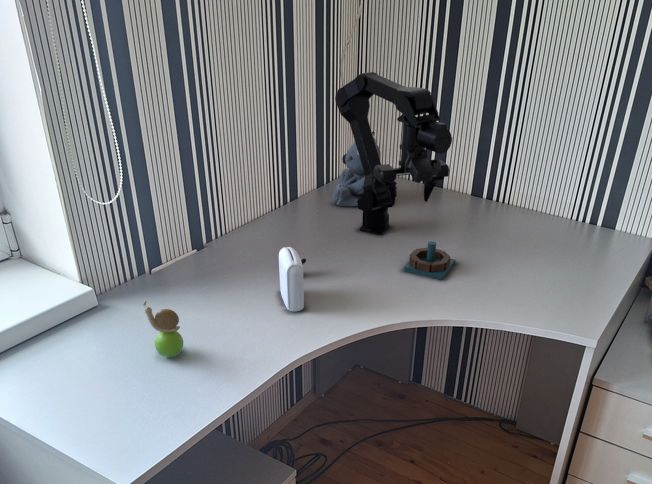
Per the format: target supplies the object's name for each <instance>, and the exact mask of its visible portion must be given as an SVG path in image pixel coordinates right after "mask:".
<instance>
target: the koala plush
mask: <svg viewBox="0 0 652 484" xmlns="http://www.w3.org/2000/svg"><path fill="white" fill-rule="evenodd" d="M373 138H374V142H375V145H376V148H377V152H378V155H379V159H380V161H381V156H382V154H381V149H380V147H379V145H378V144H377V139H376V137H375V135H373ZM341 160H342V161H341V162H342V164H344V165H345V166H346V167H347V168H344V169H342V171H341V173H340V176H339V179H338V183H337V185H336V187H335V188H334V190H333V194H332V197H331V200H332V203H333V205H336V206H338V207H348V208H349V207H358V204H357V201H358V200H359V199H360V198H361V197H362V196H363V195H364V191H363V184H364V180H365V173H364V170H363V167H362V163H361V160H360V156H359V153H358V150H357V146H356V143H355V141H354V142H353V143H352V144H351V146H350V147H349V148H348V150H347V151H346V153H344V154H343V155H342V159H341Z"/></svg>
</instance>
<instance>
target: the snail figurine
mask: <svg viewBox="0 0 652 484" xmlns="http://www.w3.org/2000/svg"><path fill="white" fill-rule="evenodd" d="M142 306H144V309H143V310H144V313H145V314H146V317H147V320H148V322H149V324H150V326H151V327H152V329H154V330H155V331H157V332H159V333H157V335H156V336H155V338H154V347H155V350H156V351H157V353H158V354H159V355H161V356H163V357H167V358H172V357H175V356H177V355H179V354H180V353H181V351H183V348H184V339H183V337H182V335H181V333H180V332H178V331H179V329H181V326H179V323H180V317H179V315H178V313H176V312H175V310H172V309H171V308H162V309H160V310H158V311H157V312H156V313H155V315H153V309H152V307H150V306H147V301H146V300H144V301H143V304H142Z"/></svg>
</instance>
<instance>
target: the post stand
mask: <svg viewBox="0 0 652 484" xmlns="http://www.w3.org/2000/svg"><path fill="white" fill-rule="evenodd" d="M427 248H428V251H427V257H426V258H419V259H420V260H422V261H427V262H437V261H440V260H439V259H435V252H436V249H437V242H436V241H434V240H433V241H432V240H431V241H428V242H427ZM455 265H456V259H455V258H451V257H450V265H449V266H448V267H447V269H446V270H444V271H439V272H431V271H430V272H425V271H421V270H417V268H416V269H414V267H413V266H412V265H411V264H410V263H409V262H407V263H406V265H405V266H404V268H403V271H404V272H406V273H411V274H414V275H419V276H423V277H429V278H433V279H437V280H440V281H443V280H444V278H446V276H447V275H448V273H449V272H450V271H451V269H452V268H453V267H454V266H455Z"/></svg>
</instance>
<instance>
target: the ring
mask: <svg viewBox="0 0 652 484" xmlns="http://www.w3.org/2000/svg"><path fill="white" fill-rule="evenodd" d="M427 251H428V247H422V248H416V249H413V251H412V252H411V253H410V254H409V260H408V263H410V264H411V265H412V266H413V267H414V269H416V268H417V270H421V271H425V272H430V271H431V272H439V271H444V270H446V269H447V267H448V266H449V265H450V258H451V256H450V255H449V253H447V252H446V251H445V250H443V249H439V248H436V252H435V259H439V260H440V261H437V262H427V261H422V260H420V259H419V258H426V257H427Z"/></svg>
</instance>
